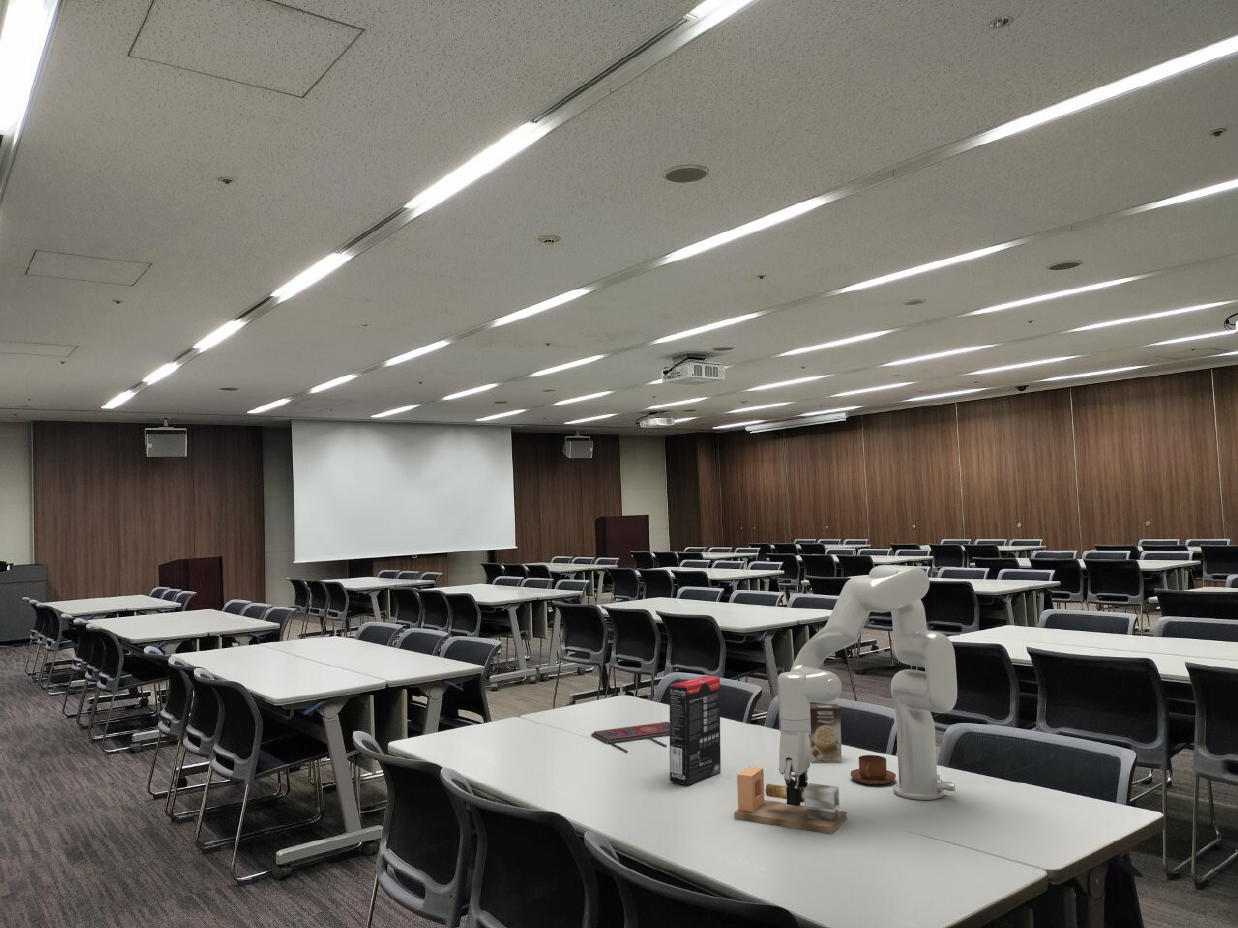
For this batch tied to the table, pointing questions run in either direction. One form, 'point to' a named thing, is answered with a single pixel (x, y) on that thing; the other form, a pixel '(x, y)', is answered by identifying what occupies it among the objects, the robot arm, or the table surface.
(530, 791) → the table surface
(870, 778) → the cup and saucer
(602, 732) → the sign
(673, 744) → the graphics card box
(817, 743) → the coffee box
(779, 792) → the brass tube
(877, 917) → the table surface
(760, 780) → the socket
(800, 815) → the rig
